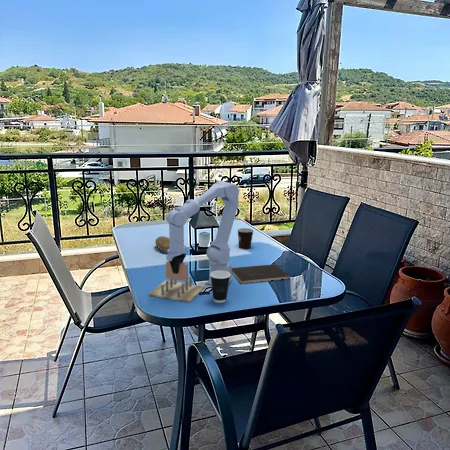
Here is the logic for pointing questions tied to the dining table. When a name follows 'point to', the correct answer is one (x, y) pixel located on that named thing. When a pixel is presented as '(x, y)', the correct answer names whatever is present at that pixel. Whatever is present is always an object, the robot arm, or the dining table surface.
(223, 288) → the dixie cup
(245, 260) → the dining table surface
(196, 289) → the dish rack
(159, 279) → the dining table surface
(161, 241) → the sponge
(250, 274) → the hardcover book
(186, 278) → the brown rectangular block
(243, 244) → the coffee mug
